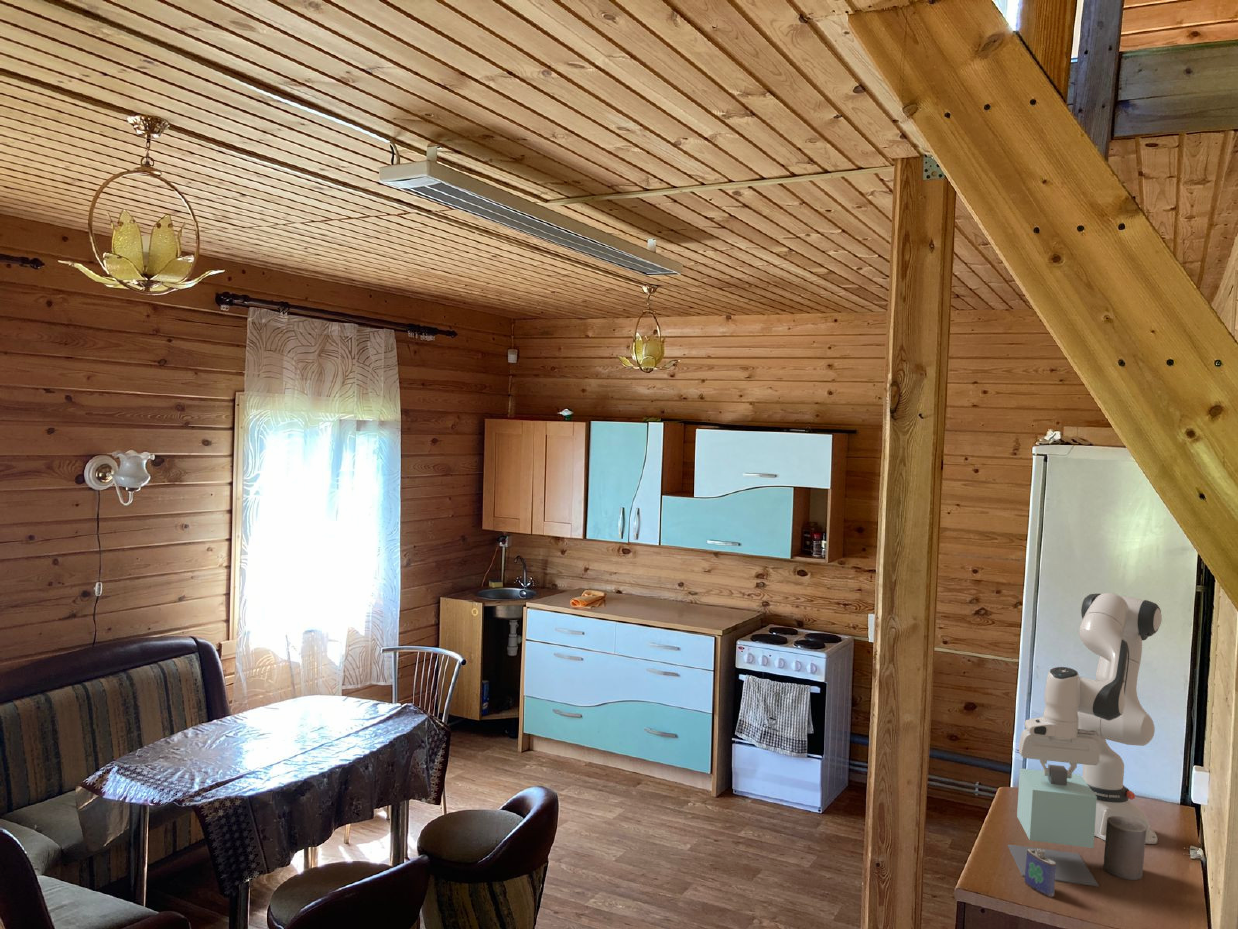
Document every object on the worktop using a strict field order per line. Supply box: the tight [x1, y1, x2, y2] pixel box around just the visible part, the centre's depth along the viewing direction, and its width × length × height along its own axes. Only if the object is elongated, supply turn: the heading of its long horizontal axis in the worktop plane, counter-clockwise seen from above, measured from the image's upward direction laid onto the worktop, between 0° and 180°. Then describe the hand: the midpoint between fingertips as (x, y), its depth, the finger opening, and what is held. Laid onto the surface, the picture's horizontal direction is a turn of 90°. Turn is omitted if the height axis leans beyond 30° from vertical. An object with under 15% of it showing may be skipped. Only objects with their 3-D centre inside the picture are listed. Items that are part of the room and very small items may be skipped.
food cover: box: [1016, 764, 1097, 849], centre depth 257 cm, size 16×16×18 cm
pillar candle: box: [1102, 816, 1146, 881], centre depth 255 cm, size 10×10×15 cm
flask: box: [1023, 848, 1056, 899], centre depth 243 cm, size 9×3×11 cm, turn 20°
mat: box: [1007, 844, 1100, 887], centre depth 258 cm, size 19×19×1 cm
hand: (1057, 776), depth 257 cm, fingers closed on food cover, 4 cm apart
